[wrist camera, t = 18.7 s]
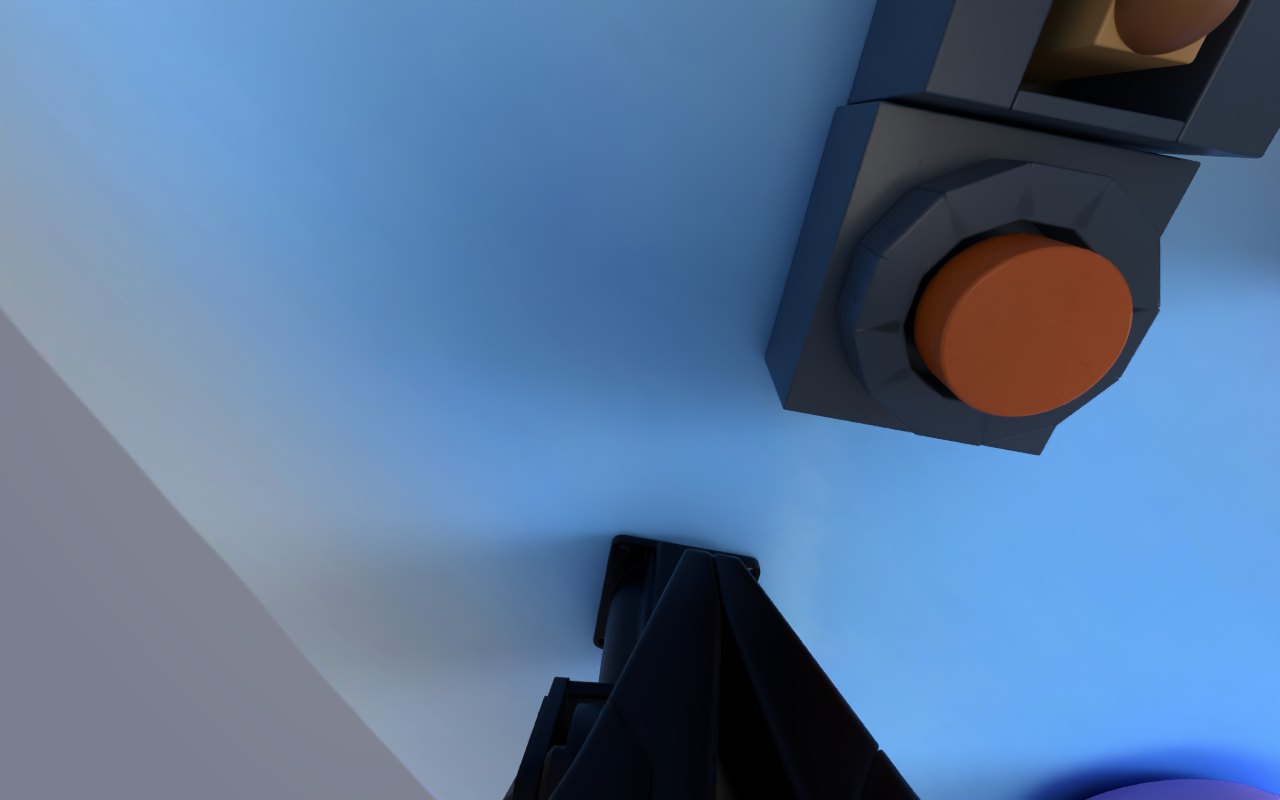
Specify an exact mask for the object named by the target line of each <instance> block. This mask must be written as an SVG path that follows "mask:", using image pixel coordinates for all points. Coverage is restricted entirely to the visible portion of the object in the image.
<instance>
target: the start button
mask: <svg viewBox="0 0 1280 800" xmlns="http://www.w3.org/2000/svg"><path fill="white" fill-rule="evenodd" d="M1132 317H1133V305H1132V297H1131V293H1130V290H1129V287H1128V285H1127V283H1126V281H1125V279H1124V277H1123V276H1122V274H1121V273H1120V271H1119V270H1118V269H1117V268H1116V267H1115V266H1114V265H1113V264H1112V263H1111V262H1110V261H1109V260H1107V259H1106V258H1104V257H1103V256H1101V255H1100V254H1097V253H1095V252H1093V251H1091V250H1088V249H1084V248H1081V247H1078V246H1074V245H1071V244H1067V243H1064V242H1060V241H1057V240H1054V239H1050V238H1047V237H1043V236H1039V235H1036V234H1027V233H1011V234H1004V235H999V236H995V237H991V238H988V239H985V240H983V241H980V242H977V243H975V244H974V245H972V246H970V247H968V248H966V249H964V250H963V251H961V252H960V253H958V254H957V255H955V256H954V257H953V258H951V259H950V260H949V261H948V262H947V263H945V264H944V265H943V266H942V268H941V269H940V270H939V271H938V272H937V273H936V274H935V275H934V277H933V278H932V279H931V280H930V282H929V283H928V285H927V287H926V288H925V290H924V292H923V294H922V296H921V298H920V300H919V303H918V306H917V309H916V314H915V319H914V340H915V345H916V348H917V351H918V354H919V356H920V358H921V360H922V361H923V363H924V364H925V366H926V367H927V368H928V369H929V370H930V371H931V372H932V373H933V374H934V375H935V376H936V377H937V378H938V379H939V380H940V381H941V382H942V383H943V384H944V385H945V386H946V387H947V388H948V389H949V390H950V391H951V392H952V393H954V394H955V395H956V396H957V397H958V398H959V399H960V400H961V401H963V402H964V403H965V404H967V405H969V406H970V407H972V408H974V409H976V410H979V411H981V412H984V413H988V414H992V415H997V416H1005V417H1020V416H1030V415H1035V414H1039V413H1043V412H1046V411H1050V410H1053V409H1055V408H1058V407H1060V406H1062V405H1065V404H1066V403H1068V402H1070V401H1072V400H1074V399H1076V398H1077V397H1079V396H1080V395H1082V394H1083V393H1085V392H1086V391H1087V390H1089V389H1090V388H1091V387H1092V386H1094V385H1095V384H1096V383H1097V382H1098V381H1099V380H1100V379H1101V378H1102V377H1103V376H1104V375H1105V374H1106V373H1107V372H1108V371H1109V369H1110V368H1111V367H1112V366H1113V364H1114V363H1115V361H1116V360H1117V358H1118V357H1119V355H1120V354H1121V352H1122V350H1123V348H1124V346H1125V344H1126V341H1127V339H1128V336H1129V333H1130V329H1131V324H1132Z"/></svg>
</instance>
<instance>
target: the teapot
mask: <svg viewBox="0 0 1280 800" xmlns="http://www.w3.org/2000/svg"><path fill="white" fill-rule="evenodd" d="M1086 800H1280V796H1278V795H1275V794H1271V793H1268V792H1266V791H1263V790H1261V789H1258V788H1255V787H1251V786H1248V785H1244V784H1240V783H1234V782H1229V781H1221V780H1211V779H1176V780H1163V781H1155V782H1148V783H1142V784H1137V785H1132V786H1127V787H1123V788H1119V789H1115V790H1112V791H1108V792H1105V793H1102V794H1099V795H1096V796H1094V797H1091V798H1088V799H1086Z"/></svg>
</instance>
